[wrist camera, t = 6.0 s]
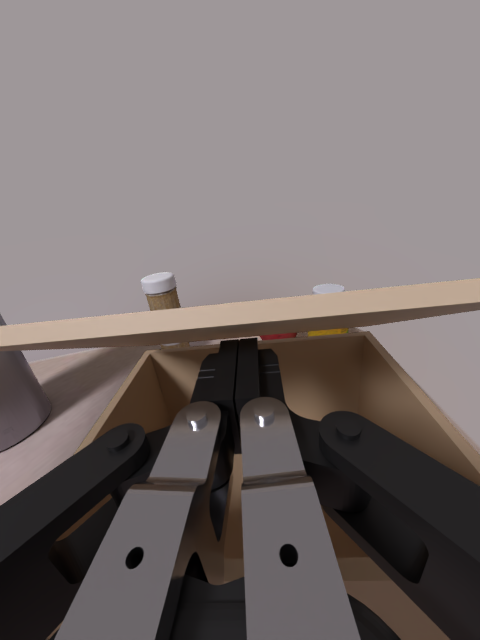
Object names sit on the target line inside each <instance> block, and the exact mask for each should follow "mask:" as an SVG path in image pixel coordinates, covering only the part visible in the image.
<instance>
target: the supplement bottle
mask: <svg viewBox="0 0 480 640" xmlns="http://www.w3.org/2000/svg"><path fill="white" fill-rule="evenodd" d="M336 292H345V289H344V287H343V286H341V285H337V284H322V285H317V286H315V287H314V288H313V295H316V294H326V293H336ZM343 333H348V328H342V329H330V330H319V331H308V337H309V336H320V335H332V334H343Z"/></svg>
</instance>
